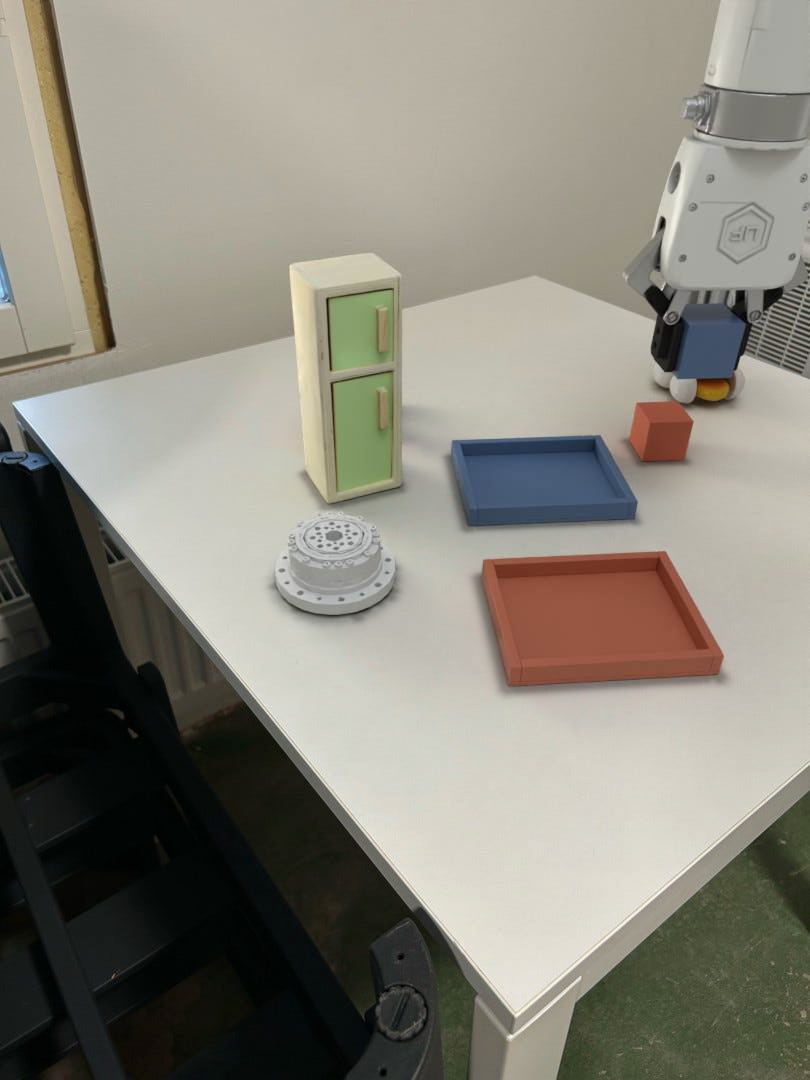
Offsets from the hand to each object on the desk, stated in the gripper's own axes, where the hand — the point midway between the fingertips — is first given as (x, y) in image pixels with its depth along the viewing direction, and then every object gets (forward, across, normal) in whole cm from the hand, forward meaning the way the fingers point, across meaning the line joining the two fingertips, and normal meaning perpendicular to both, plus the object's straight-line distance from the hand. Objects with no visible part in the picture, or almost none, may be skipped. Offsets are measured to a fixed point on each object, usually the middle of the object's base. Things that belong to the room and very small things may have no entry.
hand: (694, 362), depth 67 cm
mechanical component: (+16, -30, -6) cm, 34 cm away
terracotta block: (+16, +4, +12) cm, 20 cm away
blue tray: (+16, -10, +7) cm, 20 cm away
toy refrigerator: (+16, -28, +9) cm, 33 cm away
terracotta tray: (+16, -10, -13) cm, 23 cm away
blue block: (0, 0, 0) cm, 0 cm away
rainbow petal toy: (+16, +14, +25) cm, 33 cm away
